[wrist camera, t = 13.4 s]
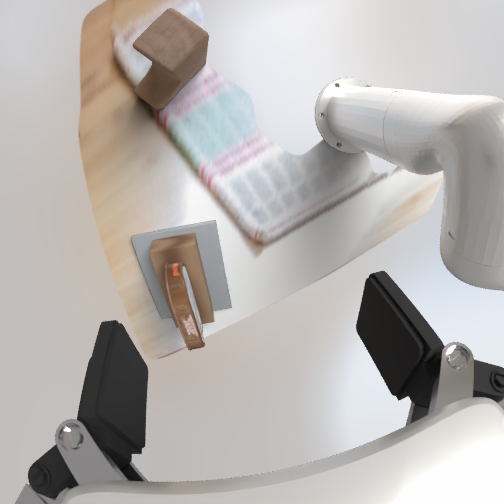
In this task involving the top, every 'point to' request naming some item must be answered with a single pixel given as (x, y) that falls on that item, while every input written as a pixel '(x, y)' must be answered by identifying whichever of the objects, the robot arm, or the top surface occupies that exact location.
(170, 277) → the tin
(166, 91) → the wooden block
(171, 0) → the top surface
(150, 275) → the plate
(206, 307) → the base block
